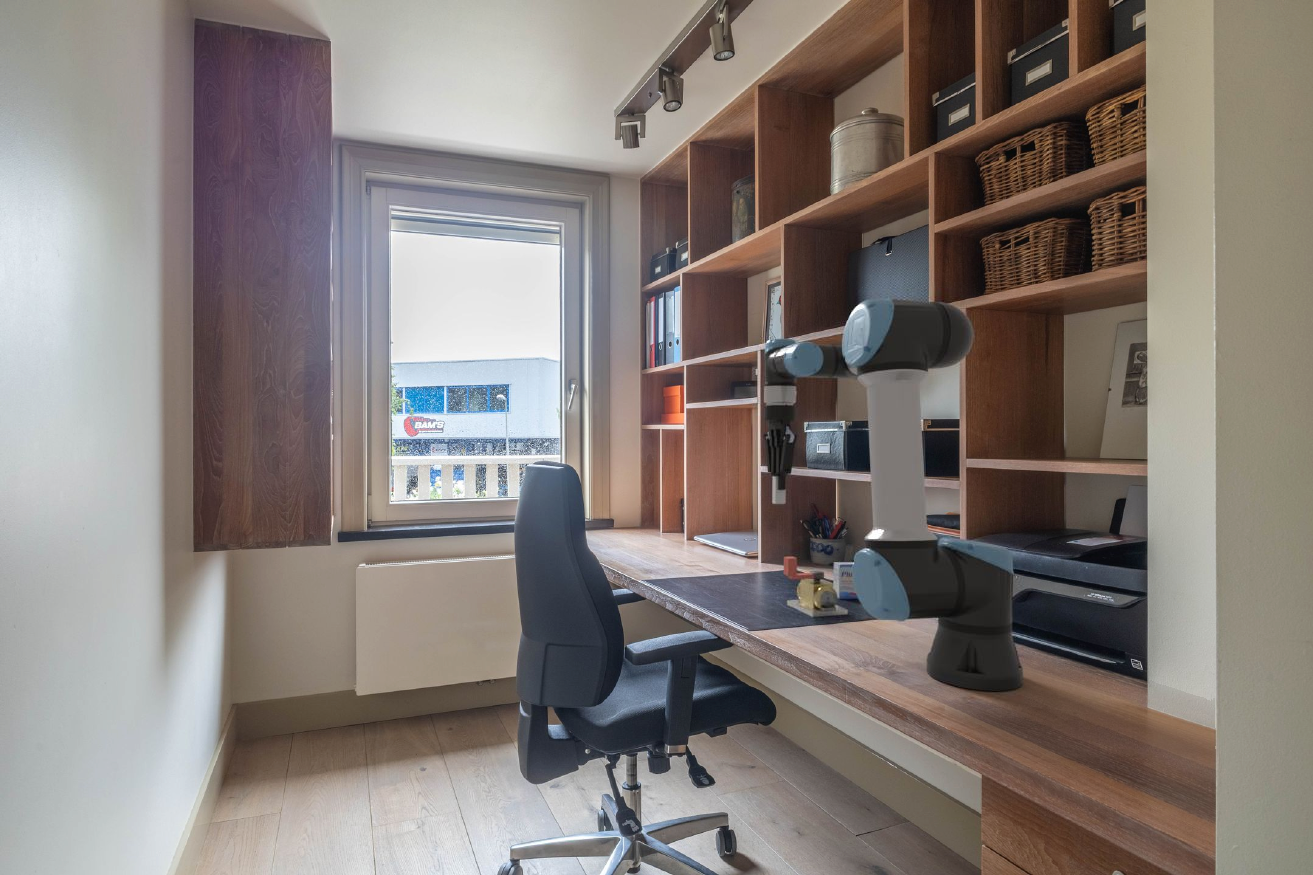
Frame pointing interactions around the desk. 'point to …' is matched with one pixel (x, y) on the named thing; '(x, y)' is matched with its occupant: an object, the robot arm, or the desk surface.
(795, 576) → the lever
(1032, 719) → the desk surface
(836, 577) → the medicine box
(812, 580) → the valve fixture
